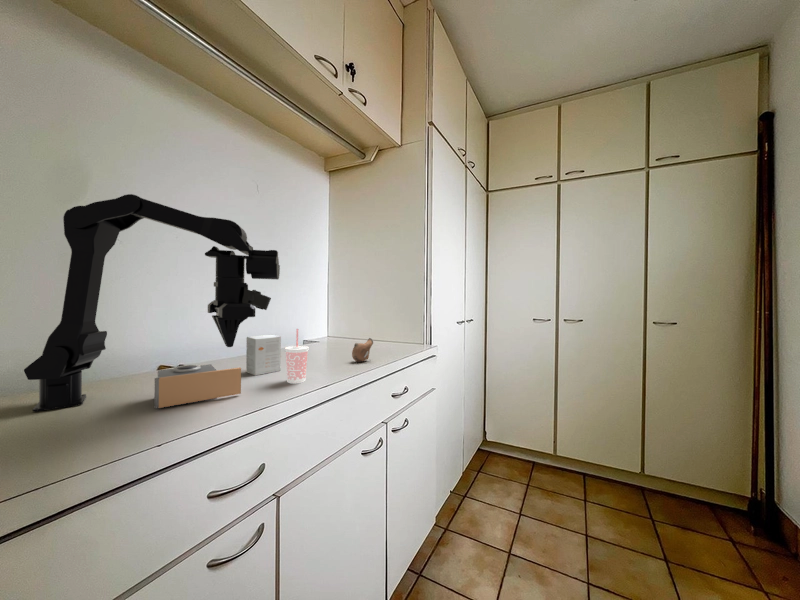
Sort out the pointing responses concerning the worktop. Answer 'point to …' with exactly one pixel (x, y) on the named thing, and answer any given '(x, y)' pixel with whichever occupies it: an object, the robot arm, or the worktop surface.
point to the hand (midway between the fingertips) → (229, 346)
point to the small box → (263, 354)
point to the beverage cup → (296, 362)
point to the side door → (196, 387)
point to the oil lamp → (362, 350)
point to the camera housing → (185, 372)
